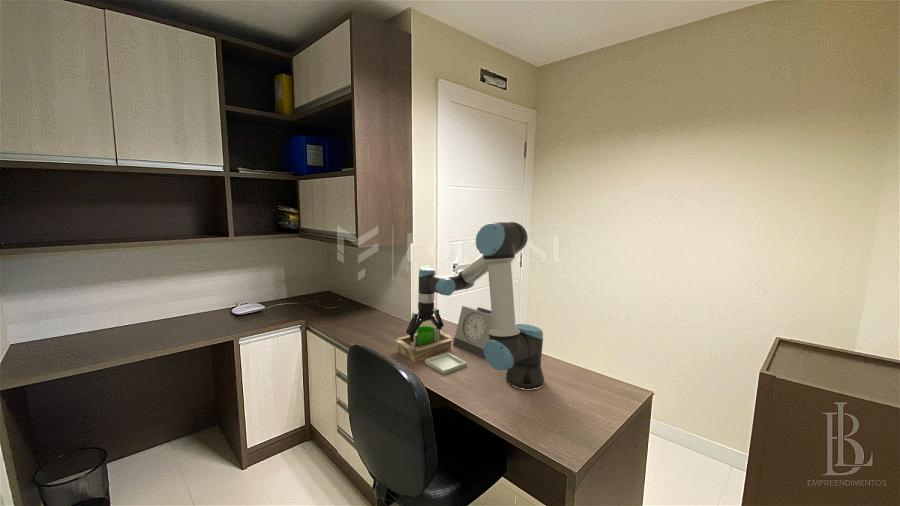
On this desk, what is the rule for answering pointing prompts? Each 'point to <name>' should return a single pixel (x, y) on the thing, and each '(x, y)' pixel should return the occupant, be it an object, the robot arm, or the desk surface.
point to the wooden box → (424, 347)
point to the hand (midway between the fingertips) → (425, 344)
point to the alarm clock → (473, 330)
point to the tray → (445, 363)
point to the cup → (425, 335)
